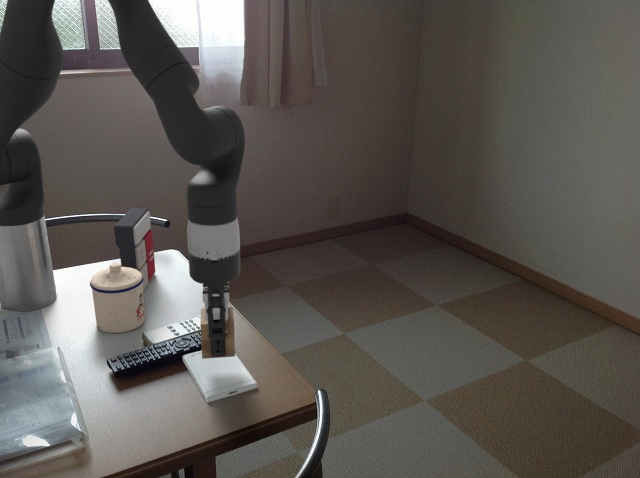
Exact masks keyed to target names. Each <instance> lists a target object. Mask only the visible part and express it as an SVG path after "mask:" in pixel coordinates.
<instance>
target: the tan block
mask: <svg viewBox="0 0 640 478" xmlns="http://www.w3.org/2000/svg"><path fill="white" fill-rule="evenodd" d="M234 314H235V313H234V307H233V306H228V320H226V321H225V329H226V330H227V336H226V338H225V348H226V354H225V356H221V357H235V354H236V346H235V345H236V344H235V343H236V342H235V341H236V340H235V317H234V316H235V315H234ZM199 328H200V341H201V343H200V344H201V351H202V359H206V358H221V357H212V356H211V342H210V339H209V337H208V331H209V328H208V322H207V321H206V320H205V307H204V308H203V307H202V308H200V327H199Z"/></svg>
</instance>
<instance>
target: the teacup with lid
mask: <svg viewBox="0 0 640 478" xmlns="http://www.w3.org/2000/svg"><path fill="white" fill-rule="evenodd" d="M142 282H143V276H142V274H141V273H140V272H139V271H138V270H136V269H134V268H129V267H121V262H120V263H119V262H113V263H111V264H109V266H108V268H106V269H103V270H100V271H98V272H96V273H95V274H94V275H92V277H91V278H90V281H89V286H90V288H91V292H92V293H91V294H92V299H93V300H92V301H93V307H94V315H95V322H96V326H97V328H98V329H99V330H101V331H103V332H105V333H111V334H120V333H121V334H122V333H127V332H131V331H133V330H136V329H138V328H139V327H141V326H142V325H143V324H144V323H145V321H146V308H145V297H144V291H143V285H142Z"/></svg>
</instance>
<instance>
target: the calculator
mask: <svg viewBox="0 0 640 478" xmlns="http://www.w3.org/2000/svg"><path fill="white" fill-rule="evenodd" d="M150 214H151V212H150V211H149V209H148V208H137V207H131V208H130V209H128V211H127V212H126V213H125V214H124V215H123V216H122V217H121V219H119V220H118V222H117V223H116V224H115V225H113V226H114V227H113V231H114V242H115V245H116V246H117V247H118V249H119V258H120V259H119V260H120V264H121V267H129V268H134V269H136V270H138V271H139V272H140V273H141V274H142V276H143V282H142V285H143V292H144V291H145V289H146V287H147V286H148V285H149V282H150V281H151V280H152V279H153V277H154V276H155V273H156V262H155V251H154V250H155V249H154V240H153V239H154V238H153V230H152V229H151V227H152V225H151V215H150Z"/></svg>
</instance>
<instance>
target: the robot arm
mask: <svg viewBox="0 0 640 478" xmlns="http://www.w3.org/2000/svg"><path fill="white" fill-rule="evenodd" d="M55 1H56V0H7V1H6V6H5V11H4V15H3V18H2V19H3V20H2V25H1V29H0V186H4V185H8V187H6V188H5V190H4V191H3V192H2V193H1V194H0V308H1V309H8V310H11V311H17V312H26V311H27V312H29V311H35V310H38V309H41V308H44V307H48V306H49V305H50V304H52V303H54V302H55V301H56V299H57V296H58V295H57V290H56V289H57V288H56V283H55V282H56V281H55V277H54V270H53V263H52V262H53V261H52V256H51V249H50V244H49V238H48V237H49V236H48V232H47V231H48V230H47V226H46V225H47V223H46V218H45V212H44V205H45V189H44V179H43V178H44V177H43V169H42V167H43V166H42V160H41V154H40V150H39V147H38V144H37V142H36V140H35V139H34V137H33V136H32V134H31V133H30V132H29V131H27V130H26V129H23V128H21V126H22V125H24V124H25V123H26V122H27V121H28V120H29V119H30V118H32V117H33V116H34V115H35V114H36V113H37V112H38V111H39V110H41V108H43V106H44V105H45V104H46V103H47V102H48V101H49V100H50V98H51V97H52V95H53V93H54V92H55V89H56V86H57V84H58V81H59V78H60V75H61V72H62V69H63V65H64V61H65V59H64V57H65V56H64V49H63V45H62V42H61V39H60V36H59V35H58V32H57V29H56V27H55V25H54V24H55V23H54V20H53V9H54V6H55ZM107 2H108V4H109V5H110V6H111V7H110V8H111V9H112V12H113V16H114V17H115V24H116V31H117V38H118V45H119V48H120V51H121V54H122V56H123V59H124V61H125V62H126V63H125V64H126V65H127V66H128V68H129V70H130V72H131V74H132V75H134V77H135V78H136V80H138V81H137V82H139V84H140V86H142V88H143V89H144V90H145V92H146V93H147V95H148V96H149V97H150V99H151V100H152V101H153V104H154V107H155V109H156V111H157V112H156V113H157V115H158V118H159V120H160V123H161V124H162V128H163V130H164V132H165V134H166V137H167V140H168V141H169V144H170V145H171V148H172V149H173V150H174V151H175V153H176V154H177V155H178V156H179V157H181V158H182V159H183V160H184V161H186V162H188V163H190V164H191V165H194V166H199V169H198V172H197V173H196V174H195V175H194V176H193V177H192V178H191V179H190V180H189V181H188V183H187V185H186V208H187V227H186V228H187V230H186V231H187V232H186V235H187V236H186V238H187V252H188V253H187V254H188V268H189V269H188V271H189V273H188V274H189V277H190V278H191V279H192V280H193V281H194V282H196V283H198V284H202V302H203V303H204V308H205V320H206V321H207V322H208V328H209V331H208V337H209V339H210V342H211V356H212V357H221V356H225V354H226V348H225V338H226V336H227V330H226V329H225V321H226V320H228V307H229V302H230V284H229V283H231V282H233V281H235V280H236V279H238V278H239V277H240V274H241V244H240V243H241V241H240V240H241V239H240V237H241V236H240V226H239V221H238V196H237V195H238V194H237V189H238V187H237V186H238V182H239V180H240V175H241V171H242V166H243V159H244V156H245V155H244V154H245V149H246V147H245V146H246V135H245V133H246V132H245V129H244V125H243V121H242V120H241V118H240V116H239V115H238V114H237V113H236V111H235V110H233V109H232V108H231V107H227V106H224V105H214V106H211V107H207V108H202V109H201V107H200V106H199V104H198V102H197V101H196V98H195V95H196V93H197V92H198V90H199V88H200V79H199V76H198V74H197V73H196V70H195V69H194V68H193V66H192V65H191V63H190V62H189V60H188V59H187V58H186V56H185V55H184V54H183V52H182V51H181V49H180V48H179V47H178V46H177V44H176V42H175V41H174V40H173V39H172V37H171V35H170V33H168V31H167V29H166V28H165V27H164V24H162V22H161V20H160V18H159V17H158V14H157V13H156V12H155V11H154V8H153V6H152V5H151V3H150V1H149V0H107Z"/></svg>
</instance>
